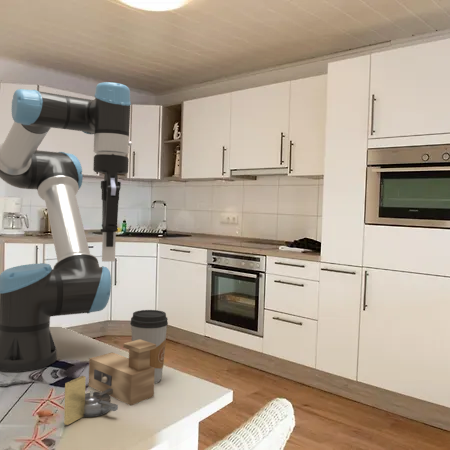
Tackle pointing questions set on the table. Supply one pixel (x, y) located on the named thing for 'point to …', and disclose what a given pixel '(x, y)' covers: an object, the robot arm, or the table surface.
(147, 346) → the wooden drawer box
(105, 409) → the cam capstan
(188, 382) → the table surface
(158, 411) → the table surface
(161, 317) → the coffee cup
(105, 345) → the table surface
